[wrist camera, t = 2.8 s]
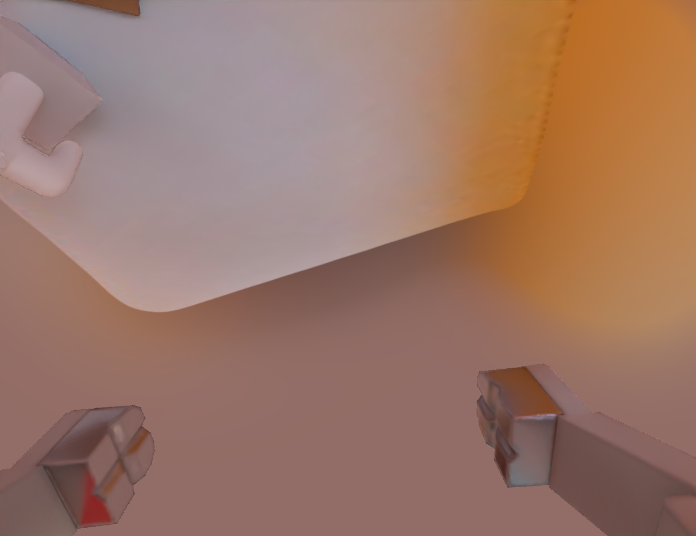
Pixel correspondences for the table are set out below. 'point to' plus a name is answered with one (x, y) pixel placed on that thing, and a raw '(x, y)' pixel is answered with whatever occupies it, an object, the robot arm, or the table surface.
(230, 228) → the table surface
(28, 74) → the figurine
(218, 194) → the table surface
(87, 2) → the cork mat
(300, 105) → the table surface
